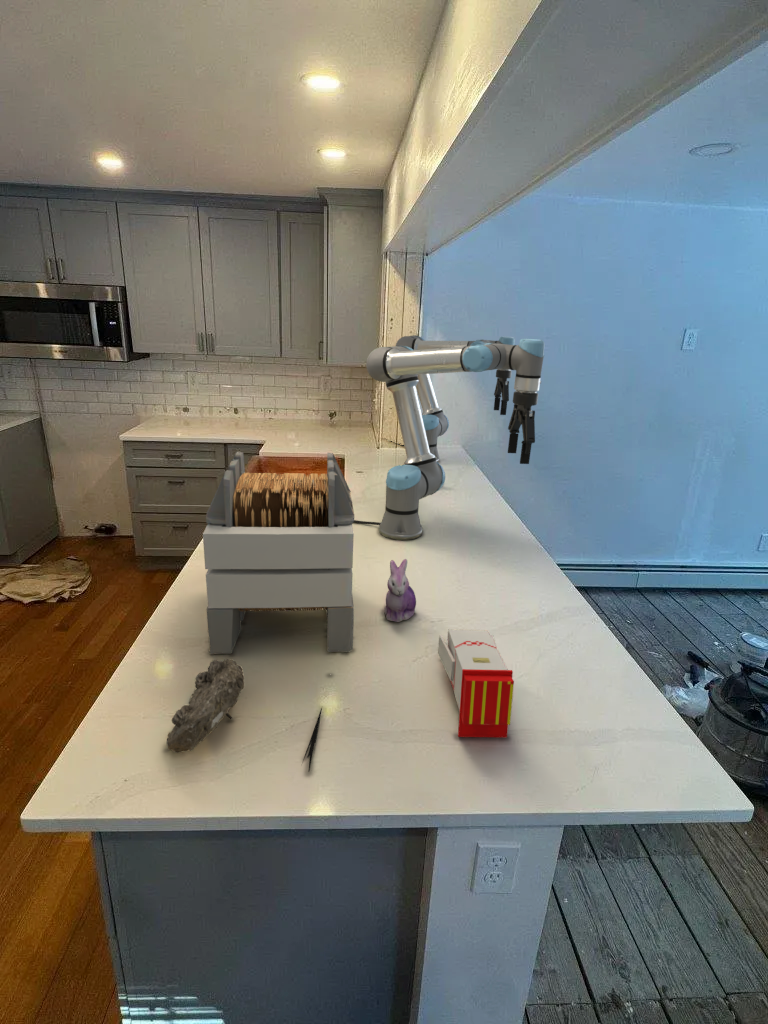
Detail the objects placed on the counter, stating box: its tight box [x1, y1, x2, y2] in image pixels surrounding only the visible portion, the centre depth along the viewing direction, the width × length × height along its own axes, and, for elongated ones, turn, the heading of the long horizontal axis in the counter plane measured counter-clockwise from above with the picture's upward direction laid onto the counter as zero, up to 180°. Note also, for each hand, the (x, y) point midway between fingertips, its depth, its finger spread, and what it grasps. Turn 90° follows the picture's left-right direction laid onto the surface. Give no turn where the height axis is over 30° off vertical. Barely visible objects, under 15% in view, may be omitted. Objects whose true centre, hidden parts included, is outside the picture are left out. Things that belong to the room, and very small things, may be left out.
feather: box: [301, 673, 332, 771], centre depth 108 cm, size 2×28×2 cm
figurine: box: [384, 558, 417, 623], centre depth 145 cm, size 9×10×15 cm
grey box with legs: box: [202, 451, 355, 655], centre depth 137 cm, size 34×33×41 cm
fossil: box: [166, 658, 245, 754], centre depth 106 cm, size 22×10×15 cm
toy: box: [437, 628, 515, 738], centre depth 117 cm, size 12×13×30 cm
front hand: (517, 458), depth 182 cm, fingers open, 13 cm apart
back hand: (499, 412), depth 287 cm, fingers open, 13 cm apart
